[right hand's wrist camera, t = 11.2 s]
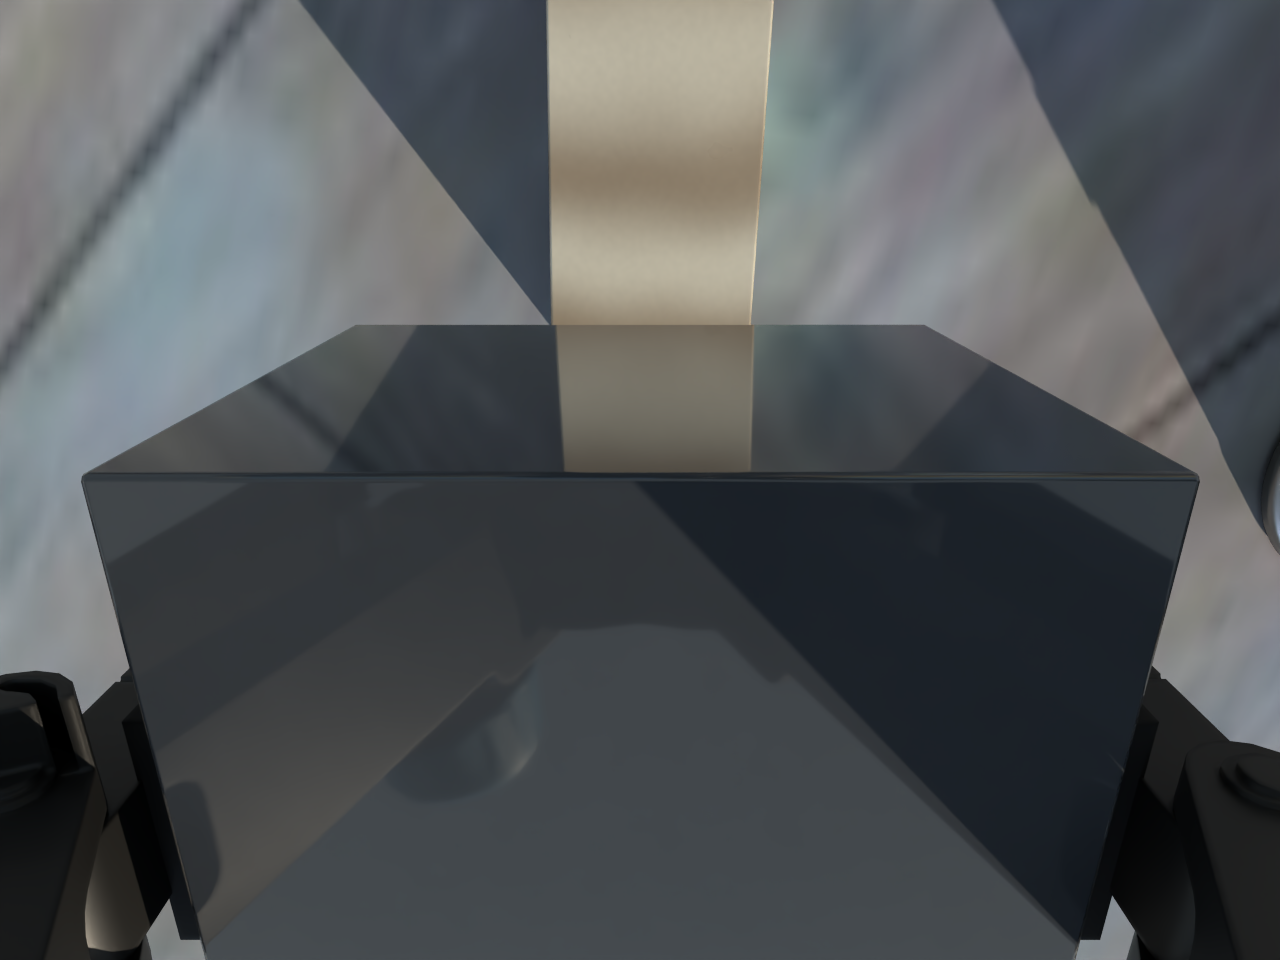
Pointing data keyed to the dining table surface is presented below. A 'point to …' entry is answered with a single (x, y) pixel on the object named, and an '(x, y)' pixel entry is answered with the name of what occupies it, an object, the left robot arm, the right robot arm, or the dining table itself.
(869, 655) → the slate block
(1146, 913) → the right robot arm
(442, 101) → the dining table surface
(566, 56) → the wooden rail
